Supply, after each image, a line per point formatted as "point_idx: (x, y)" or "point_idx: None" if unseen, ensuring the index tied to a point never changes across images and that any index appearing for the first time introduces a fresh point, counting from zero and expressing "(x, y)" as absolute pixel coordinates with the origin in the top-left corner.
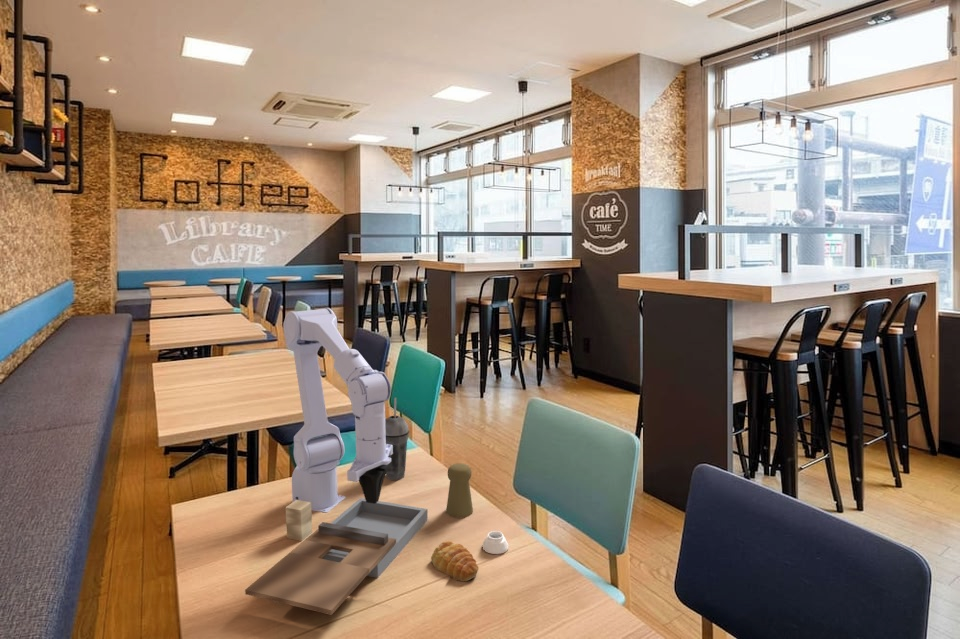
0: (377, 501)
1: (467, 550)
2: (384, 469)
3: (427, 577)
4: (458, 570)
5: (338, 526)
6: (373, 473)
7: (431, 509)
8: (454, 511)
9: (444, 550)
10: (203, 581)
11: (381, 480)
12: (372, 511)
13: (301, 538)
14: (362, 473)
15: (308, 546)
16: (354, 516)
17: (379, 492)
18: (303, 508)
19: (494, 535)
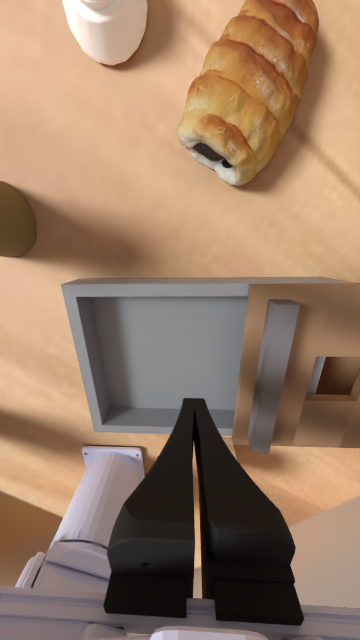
0: (189, 398)
1: (217, 45)
2: (194, 536)
3: (296, 171)
4: (313, 44)
5: (264, 421)
6: (268, 558)
7: (27, 294)
8: (16, 218)
9: (256, 121)
10: (345, 486)
11: (185, 461)
12: (106, 392)
13: (233, 446)
14: (341, 618)
15: (315, 431)
16: (137, 410)
17: (187, 418)
18: None
19: (68, 4)
